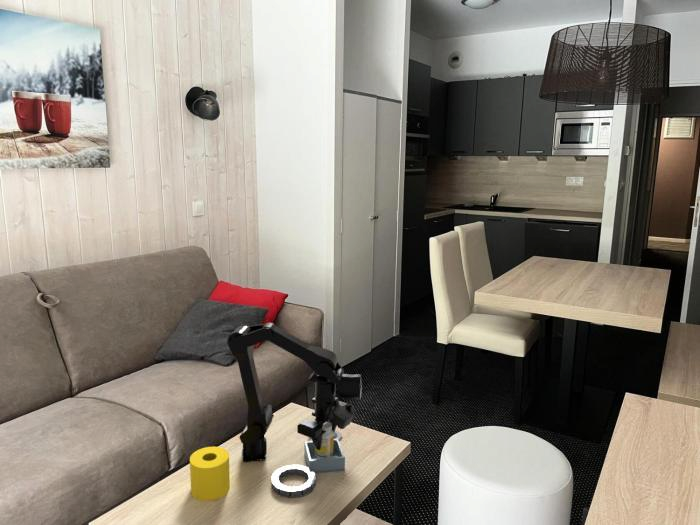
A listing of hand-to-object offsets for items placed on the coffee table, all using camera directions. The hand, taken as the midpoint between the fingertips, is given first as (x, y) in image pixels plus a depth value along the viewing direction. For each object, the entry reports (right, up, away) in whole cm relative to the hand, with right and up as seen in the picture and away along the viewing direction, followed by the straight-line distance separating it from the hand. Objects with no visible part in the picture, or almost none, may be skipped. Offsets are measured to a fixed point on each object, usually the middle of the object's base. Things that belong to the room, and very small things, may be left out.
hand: (324, 444), depth 156 cm
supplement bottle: (0, -3, +1) cm, 3 cm away
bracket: (0, -3, +16) cm, 16 cm away
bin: (0, -5, +1) cm, 5 cm away
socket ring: (-8, -7, -10) cm, 14 cm away
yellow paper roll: (-30, -8, -13) cm, 33 cm away
